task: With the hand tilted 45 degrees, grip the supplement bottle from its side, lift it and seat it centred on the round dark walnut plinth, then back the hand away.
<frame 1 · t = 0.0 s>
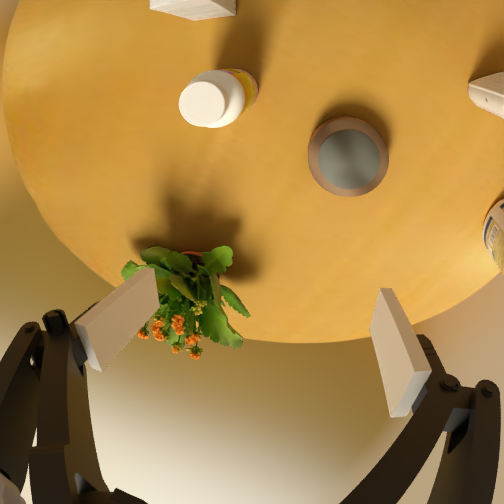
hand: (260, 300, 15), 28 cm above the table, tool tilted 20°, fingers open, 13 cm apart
walnut plinth: (346, 153, 35), on the table
potted flower: (201, 268, 55), on the table
photo printer: (489, 87, 22), on the table
skincare box: (214, 5, 25), on the table
supplement tub: (502, 221, 34), on the table
supplement bottle: (234, 90, 33), on the table
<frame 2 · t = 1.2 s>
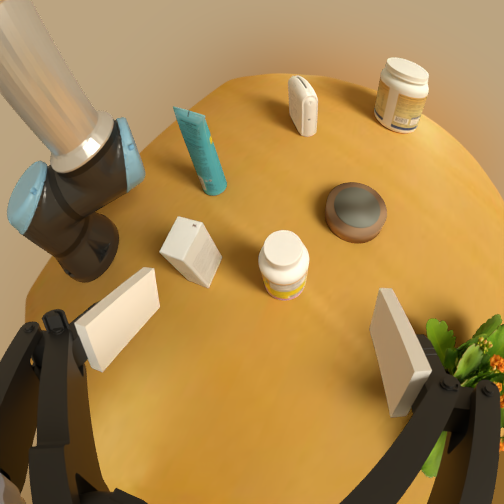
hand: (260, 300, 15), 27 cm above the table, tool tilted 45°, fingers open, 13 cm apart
walnut plinth: (354, 216, 47), on the table
potted flower: (450, 382, 32), on the table
tube: (215, 186, 54), on the table
photo printer: (302, 124, 60), on the table
skincare box: (205, 270, 47), on the table
supplement tub: (394, 120, 58), on the table
supplement bottle: (284, 282, 44), on the table
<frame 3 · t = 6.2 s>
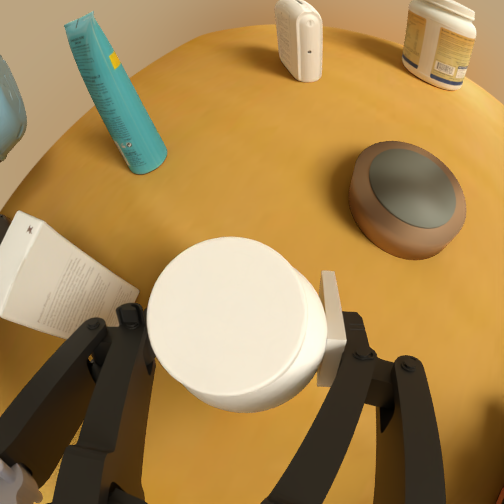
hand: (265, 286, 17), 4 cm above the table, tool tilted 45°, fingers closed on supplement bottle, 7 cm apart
walnut plinth: (404, 205, 22), on the table
tube: (149, 159, 29), on the table
photo printer: (299, 69, 35), on the table
skincare box: (111, 313, 22), on the table
supplement tub: (430, 75, 33), on the table
supplement bottle: (263, 350, 19), on the table, touching gripper
when the fingers open (8 cm above the table, at t = 11.1 s): supplement bottle stays where it is, resting on walnut plinth.
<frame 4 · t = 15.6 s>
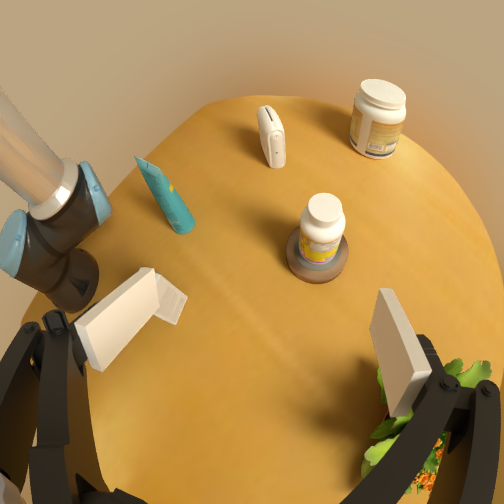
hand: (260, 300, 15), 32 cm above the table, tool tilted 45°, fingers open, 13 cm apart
walnut plinth: (316, 255, 50), on the table
potted flower: (406, 418, 35), on the table
tube: (184, 224, 57), on the table
photo printer: (273, 154, 62), on the table
skincare box: (173, 308, 49), on the table
supplement tub: (371, 144, 61), on the table
supplement bottle: (317, 248, 47), point 3 cm above the table, touching walnut plinth
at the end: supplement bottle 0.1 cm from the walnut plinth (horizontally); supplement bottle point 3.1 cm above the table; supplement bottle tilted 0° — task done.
